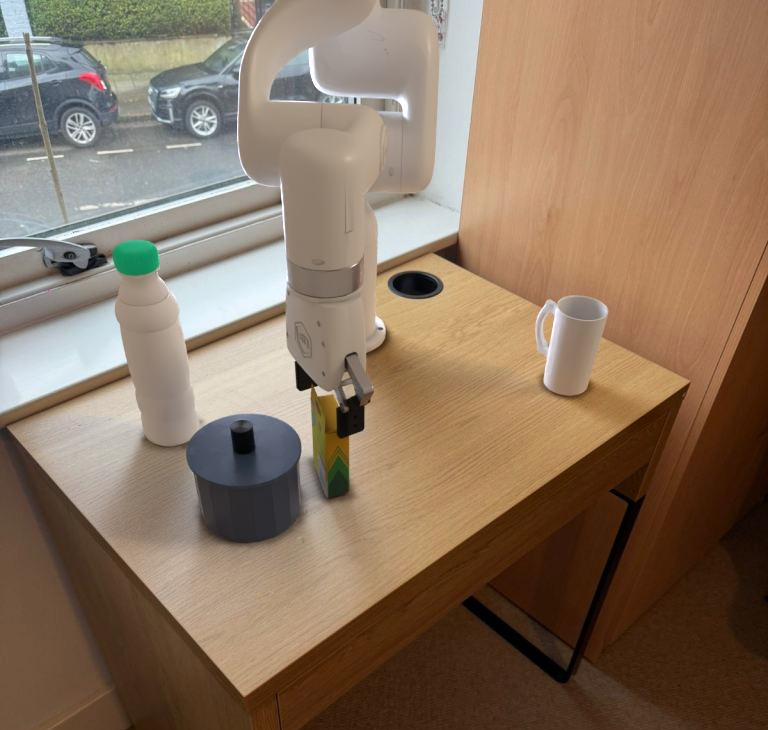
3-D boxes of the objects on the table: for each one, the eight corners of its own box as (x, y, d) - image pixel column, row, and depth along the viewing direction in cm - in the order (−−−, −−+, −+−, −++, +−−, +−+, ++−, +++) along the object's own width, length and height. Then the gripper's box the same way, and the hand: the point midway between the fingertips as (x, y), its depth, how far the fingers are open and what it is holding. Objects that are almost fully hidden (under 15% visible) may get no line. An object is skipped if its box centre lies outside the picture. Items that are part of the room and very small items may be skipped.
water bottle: (210, 422, 100) (180, 238, 83) (183, 454, 95) (144, 266, 78) (163, 410, 102) (123, 227, 84) (134, 441, 97) (85, 254, 80)
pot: (182, 507, 89) (170, 450, 83) (258, 462, 95) (252, 407, 89) (244, 558, 83) (235, 502, 77) (320, 507, 89) (318, 451, 83)
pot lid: (164, 454, 83) (157, 425, 80) (253, 407, 90) (249, 378, 87) (235, 511, 77) (231, 481, 74) (325, 456, 84) (324, 426, 81)
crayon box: (350, 495, 91) (350, 417, 83) (326, 499, 90) (323, 421, 82) (335, 456, 96) (333, 379, 88) (312, 460, 95) (308, 382, 87)
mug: (598, 385, 109) (618, 309, 101) (569, 403, 106) (588, 326, 97) (543, 355, 114) (558, 281, 106) (514, 372, 111) (527, 296, 102)
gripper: (253, 242, 78) (266, 379, 90) (334, 322, 68) (337, 465, 80) (318, 226, 81) (322, 361, 93) (405, 301, 71) (397, 442, 83)
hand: (329, 409), depth 87 cm, fingers open, 9 cm apart
